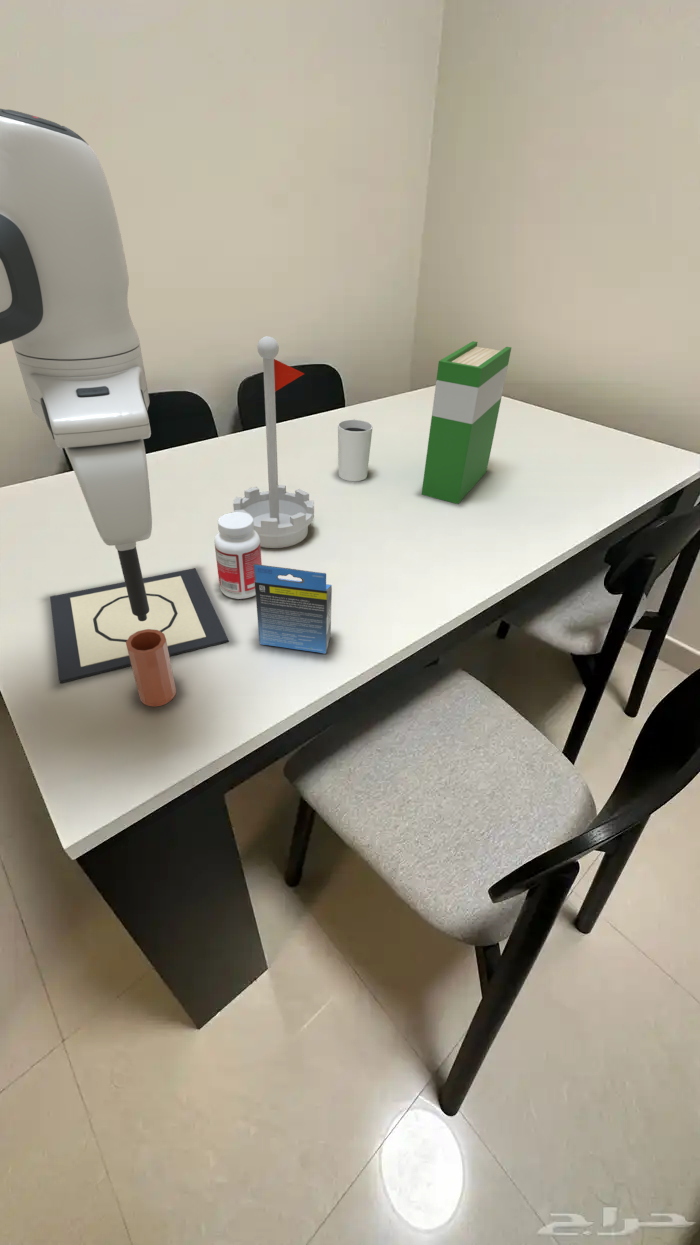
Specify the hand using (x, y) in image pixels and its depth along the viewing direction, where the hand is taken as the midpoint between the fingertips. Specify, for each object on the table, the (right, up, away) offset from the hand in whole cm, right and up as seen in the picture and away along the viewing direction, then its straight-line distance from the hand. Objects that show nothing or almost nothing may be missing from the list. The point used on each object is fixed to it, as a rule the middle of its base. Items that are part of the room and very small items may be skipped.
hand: (123, 538), depth 54 cm
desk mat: (-7, -7, +23) cm, 25 cm away
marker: (0, -7, +6) cm, 10 cm away
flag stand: (+9, +7, +43) cm, 45 cm away
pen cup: (-1, -16, +13) cm, 21 cm away
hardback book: (+42, +20, +62) cm, 78 cm away
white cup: (+22, +22, +62) cm, 70 cm away
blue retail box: (+14, -10, +21) cm, 28 cm away
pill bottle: (+5, -3, +30) cm, 31 cm away
